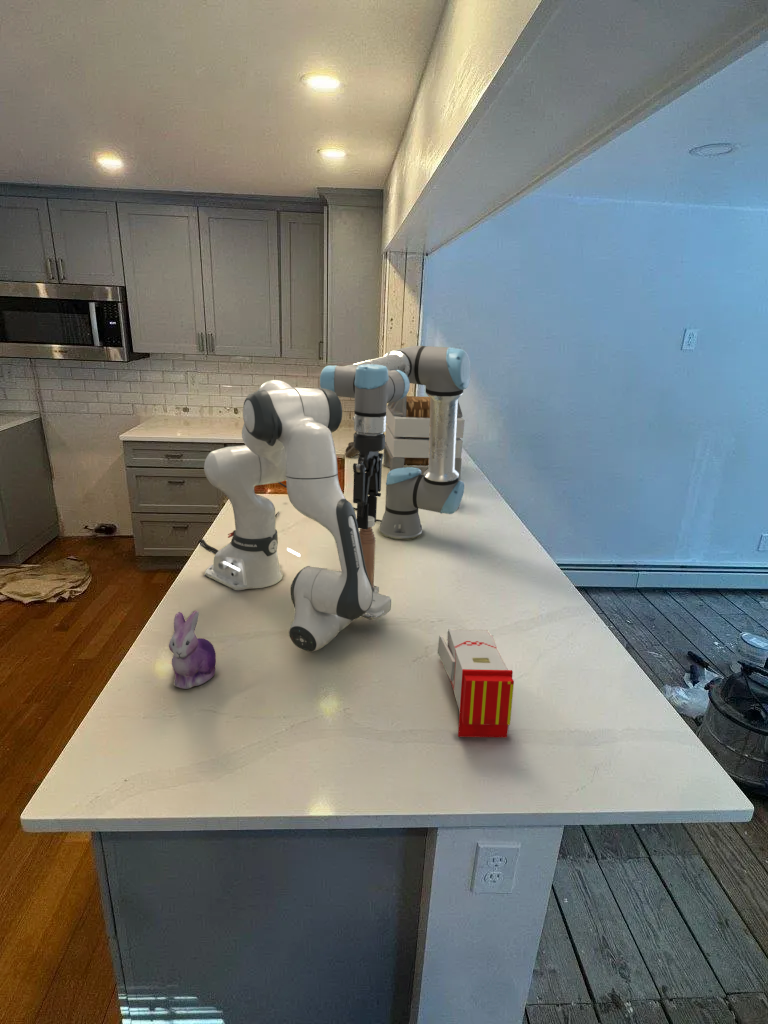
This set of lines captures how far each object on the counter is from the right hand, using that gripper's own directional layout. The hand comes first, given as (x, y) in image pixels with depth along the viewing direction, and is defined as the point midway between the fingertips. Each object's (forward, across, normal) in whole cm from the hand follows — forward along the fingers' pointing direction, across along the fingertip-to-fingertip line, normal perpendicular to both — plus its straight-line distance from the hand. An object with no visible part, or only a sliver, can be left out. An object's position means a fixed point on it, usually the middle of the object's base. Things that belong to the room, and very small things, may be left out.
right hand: (366, 524), depth 142 cm
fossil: (+24, -152, -68) cm, 168 cm away
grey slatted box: (+24, -132, -26) cm, 137 cm away
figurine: (+24, +42, -21) cm, 52 cm away
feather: (+24, -50, -56) cm, 79 cm away
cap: (-1, 0, 0) cm, 1 cm away
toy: (+24, +23, +34) cm, 47 cm away
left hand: (+18, -1, 0) cm, 18 cm away
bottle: (+24, 0, 0) cm, 24 cm away
